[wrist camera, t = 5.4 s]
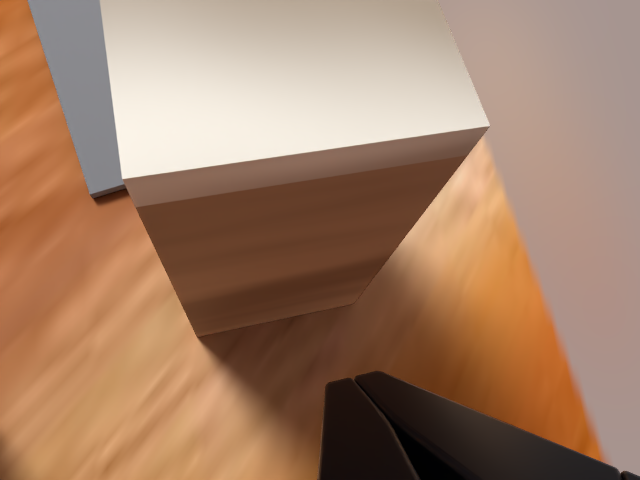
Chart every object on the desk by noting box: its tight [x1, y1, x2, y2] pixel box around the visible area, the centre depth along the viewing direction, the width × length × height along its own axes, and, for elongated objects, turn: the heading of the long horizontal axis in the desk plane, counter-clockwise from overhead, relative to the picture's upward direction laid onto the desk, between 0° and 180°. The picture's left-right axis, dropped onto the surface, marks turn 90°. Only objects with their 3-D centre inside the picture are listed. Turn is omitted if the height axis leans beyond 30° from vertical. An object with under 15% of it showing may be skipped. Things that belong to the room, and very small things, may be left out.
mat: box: [28, 0, 126, 198], centre depth 19 cm, size 9×10×1 cm
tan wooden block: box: [100, 0, 490, 337], centre depth 12 cm, size 5×5×10 cm
